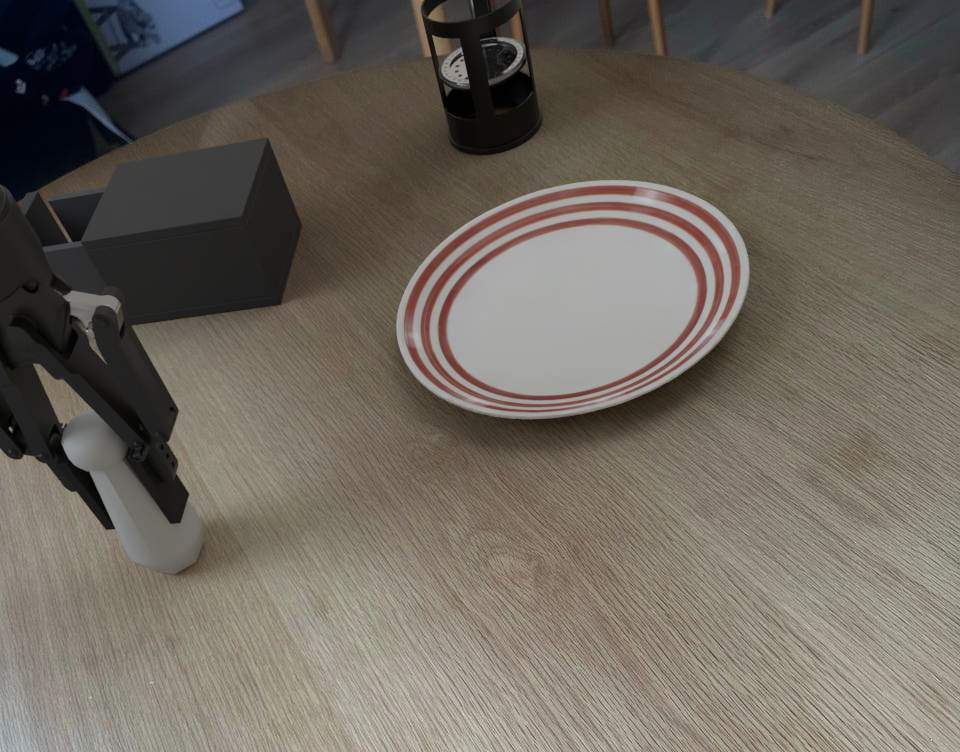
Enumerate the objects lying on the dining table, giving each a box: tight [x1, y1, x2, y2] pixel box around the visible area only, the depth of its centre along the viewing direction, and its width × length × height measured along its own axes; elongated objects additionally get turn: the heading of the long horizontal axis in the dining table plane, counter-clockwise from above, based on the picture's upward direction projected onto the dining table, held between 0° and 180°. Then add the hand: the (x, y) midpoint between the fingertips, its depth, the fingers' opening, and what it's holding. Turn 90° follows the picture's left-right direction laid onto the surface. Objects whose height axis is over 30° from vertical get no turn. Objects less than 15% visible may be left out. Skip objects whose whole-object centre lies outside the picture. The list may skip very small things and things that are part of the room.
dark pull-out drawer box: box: [19, 186, 107, 296], centre depth 95 cm, size 20×11×7 cm, turn 86°
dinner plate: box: [395, 179, 751, 420], centre depth 80 cm, size 28×27×3 cm
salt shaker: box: [61, 408, 204, 576], centre depth 70 cm, size 6×6×13 cm
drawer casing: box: [81, 137, 303, 326], centre depth 92 cm, size 15×12×9 cm
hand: (147, 511), depth 72 cm, fingers closed on salt shaker, 4 cm apart
